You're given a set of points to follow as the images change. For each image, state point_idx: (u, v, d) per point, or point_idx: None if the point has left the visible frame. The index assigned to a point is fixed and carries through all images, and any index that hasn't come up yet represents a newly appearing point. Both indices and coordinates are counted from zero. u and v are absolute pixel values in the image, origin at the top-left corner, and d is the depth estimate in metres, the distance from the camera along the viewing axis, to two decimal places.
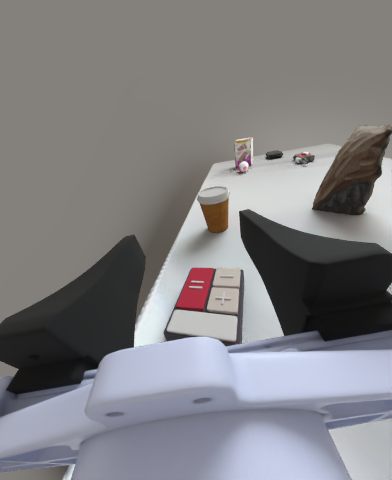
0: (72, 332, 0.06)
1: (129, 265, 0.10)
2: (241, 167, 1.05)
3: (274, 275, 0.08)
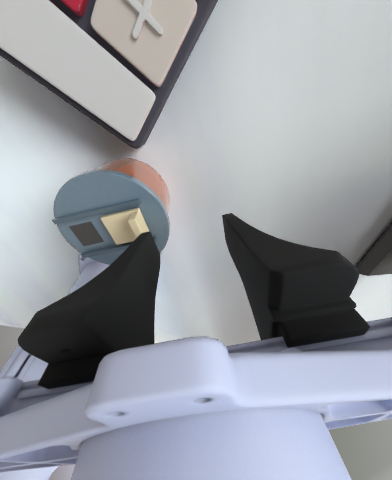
0: (105, 326, 0.05)
1: (147, 261, 0.10)
2: None
3: (249, 280, 0.08)
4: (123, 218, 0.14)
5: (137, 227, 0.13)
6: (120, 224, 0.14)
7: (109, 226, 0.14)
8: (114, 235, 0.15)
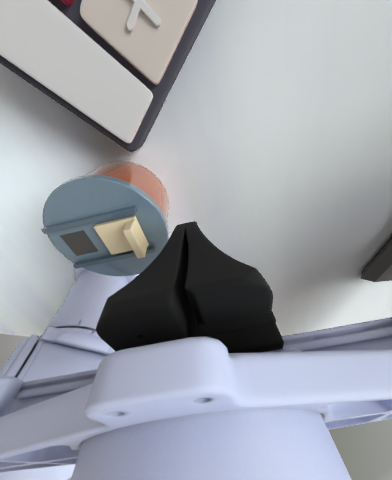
0: (179, 312, 0.05)
1: (187, 252, 0.10)
2: None
3: None
4: (118, 227, 0.13)
5: (133, 237, 0.12)
6: (115, 233, 0.13)
7: (103, 235, 0.13)
8: (109, 244, 0.14)
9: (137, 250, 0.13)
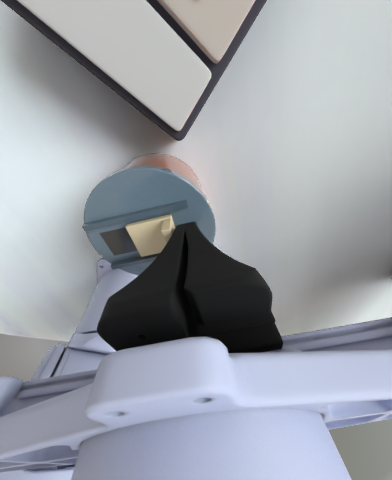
0: (179, 311, 0.05)
1: (188, 252, 0.10)
2: None
3: None
4: (152, 227, 0.12)
5: None
6: (148, 233, 0.12)
7: (135, 236, 0.12)
8: (140, 246, 0.13)
9: None
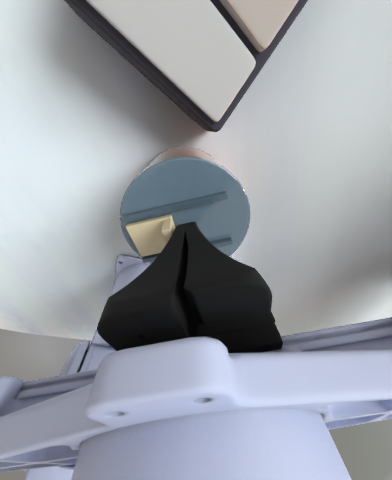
0: (180, 311, 0.05)
1: (188, 252, 0.10)
2: None
3: None
4: (152, 227, 0.12)
5: None
6: (148, 233, 0.12)
7: (135, 236, 0.12)
8: (140, 246, 0.13)
9: None
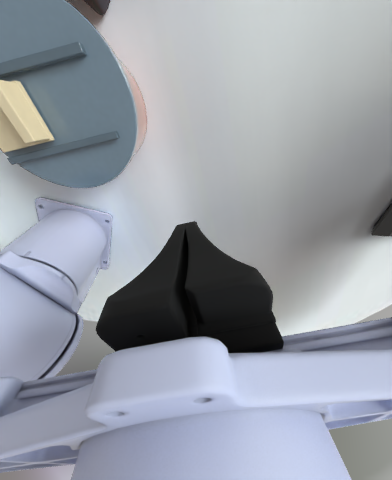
0: (179, 312, 0.05)
1: (187, 252, 0.10)
2: None
3: None
4: None
5: (4, 96, 0.08)
6: None
7: None
8: None
9: (19, 125, 0.09)
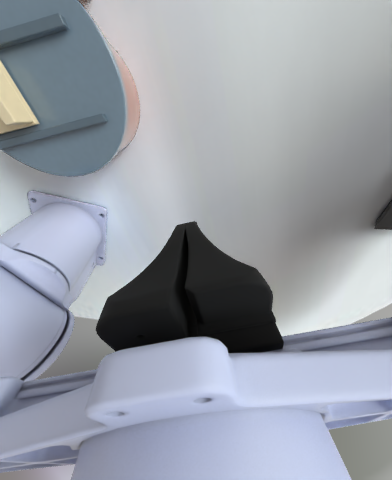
0: (179, 312, 0.05)
1: (187, 252, 0.10)
2: None
3: None
4: None
5: None
6: None
7: None
8: None
9: None
